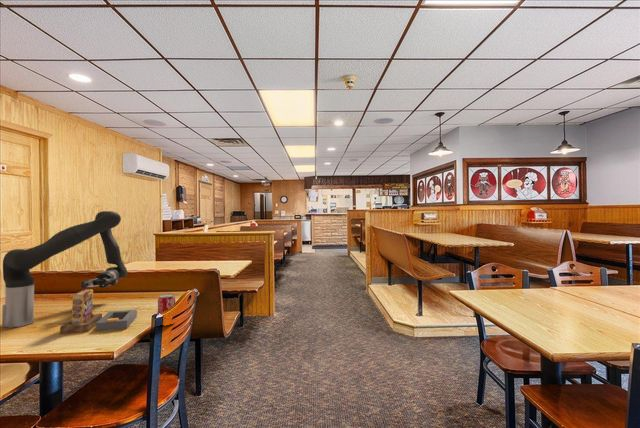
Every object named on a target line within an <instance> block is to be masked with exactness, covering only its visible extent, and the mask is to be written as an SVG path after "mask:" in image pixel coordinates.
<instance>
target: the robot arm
mask: <svg viewBox="0 0 640 428" xmlns="http://www.w3.org/2000/svg"><path fill="white" fill-rule="evenodd" d="M121 217H122V216H121V215H120V214H119V213H118V212H116V211H112V210H110V211H109V210H108V211H107V210H105V211H100V212H98V213H96V215H95V218H94V220H92V221H88V222H84V223H80V224H77V225H72V226H70V227H67V228H65V229H63V230H60V231H59V232H57V233H55V234H54V235H52V236H51V237H50V238H49V239H47V241H44V242H43V243H41V244H38V245H36V246H33V247H31V248H27V249H21V248H16V249H11V250H9V251H8V252H7V253H6V254H5V255H4V256H3V259H2V279H3V281H4V283H5V286H4V287H5V289H4V291H5V292H4V294H5V296H4V297H5V298H4V300H5V301H4V304H3V305H2V309H1V310H2V311H1V312H2V313H1V328H10V329H11V328H18V327H23V326H27V325H31V324H33V323H34V321H35V320H34V318H35V314H34V313H35V312H34V311H35V310H34V309H35V278H34V277H33V276H32V273H31V272H30V270H31V269H33V268H35V267H37V266H39V265H40V264H42V263H43V262H45V261H47V260H48V259H50V258H52V257H54V256H56V255H58V254H60V253H62V252H65V251H67V250H69V249H71V248H73V247H76V246H77V245H79V244H81V243H83V242H85V241H87V240H89V239H91V238H92V237H95V236H97V235H99V236H100V238H101V241H102V244H103V249H104V254H105V259H106V260H105V261H106V262H107V263H106V264H108V265H115V266H111V267H108V268H106V269H105V271H103V272H101V273H100V274H98V275H96V277H95V278H94V279H86V280H83V281H81V282H80V288H82V289H83V290H86V289H87V288H94V287H99V288H102V289H103V288H108V287H111V285H112V286H115V285H117V283H118V279H124V278H126V277H127V276H128V270H127V267H126V266H125V264H124V262H123V259H122V256H121V254H122V253H121V249H120V246H119V244H118V242H117V241H116V239H115V237H114V234H113V232H112V229H113V228H115V227H117V226H119V224H120V223H121V220H122V218H121Z"/></svg>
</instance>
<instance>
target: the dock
mask: <svg viewBox="0 0 640 428" xmlns="http://www.w3.org/2000/svg"><path fill="white" fill-rule="evenodd" d="M137 318H138V309H137V308H136V309H123V310H122V309H121V310H112V311H111V310H110V311H108V312H107V313H106V314H105V315H103V316H102V318H101V319H100V320H99V321H98V322H97V323H96V326H95V332H104V331H105V332H106V331H116V330H117V331H118V330H124V329H126V330H127V329H128V328H129V327H130V326H131V324H133V322H134V321H135V320H136V319H137Z"/></svg>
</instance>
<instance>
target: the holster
mask: <svg viewBox="0 0 640 428" xmlns="http://www.w3.org/2000/svg"><path fill="white" fill-rule="evenodd" d="M102 317H103V313H92V318H91V319H90V320H89V321H87V322H86V323H82V324H72V318H70V319H69V320H68V321H66V322H65V323H64V324H62V325H60V327H59V334H60V335H63V334H76V333H87V332H88V333H89V332H90V331H92V329H93V328H94V327H96V323H97V322H98V321H99V320H100V319H101V318H102Z"/></svg>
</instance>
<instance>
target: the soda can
mask: <svg viewBox="0 0 640 428" xmlns="http://www.w3.org/2000/svg"><path fill="white" fill-rule="evenodd" d="M174 304H175V305H176V296H175V294H174V293H164V294H159V296H158V298H157V314H158V313H162V312H164V311H166V310H168V309H169V308H171V307H172V306H173V305H174Z"/></svg>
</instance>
